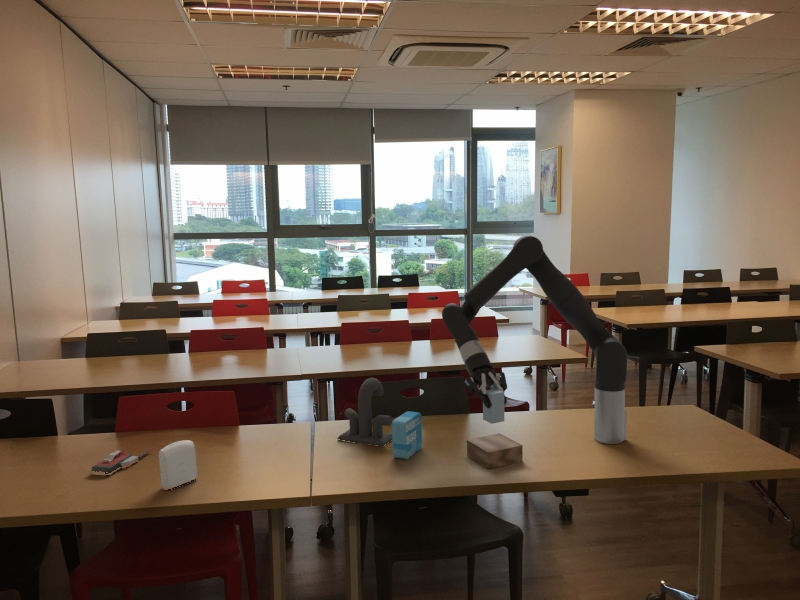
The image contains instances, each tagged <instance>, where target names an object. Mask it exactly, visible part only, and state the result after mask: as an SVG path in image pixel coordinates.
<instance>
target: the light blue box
mask: <svg viewBox="0 0 800 600" xmlns="http://www.w3.org/2000/svg"><path fill="white" fill-rule="evenodd" d="M422 424H423V423H422V414H421V412H417V411H405V412H404V413H403V414H401V415H399V416H397V417H396V418H394V419H393V420H392V423H391V434H392V441H391V442H392V456H393V458H397V459H403V460H408V459H409V457H410V456H411V457H412V456H413V455H415V454H416V453H417V452H418V451H419V449H420V448H421V449H422V447H423V436H422V435H423V434H422V433H423V431H422V430H423V429H422ZM421 449H420V450H421ZM416 451H417V452H416ZM415 452H416V453H415ZM414 453H415V454H414ZM411 457H410V458H411Z"/></svg>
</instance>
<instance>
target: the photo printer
mask: <svg viewBox="0 0 800 600" xmlns="http://www.w3.org/2000/svg"><path fill="white" fill-rule="evenodd" d="M195 447H196V446H195V444H194V442H193V441H192V440H187V439H185V440H178V441H175V442H172V443H169V444H168V445H166V446H164V447H163V448H161V449H160V450H159V451H158V462H159V463H158V464H159V473H160V482H161V483H160V484H161V488H162V487H164V488H171V487H174V486H177V485H180V484H183V483H185V482H187V481H190V480H193V479H195V478H197V479H198V469H197V468H198V467H197V457H196V448H195Z"/></svg>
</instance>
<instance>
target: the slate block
mask: <svg viewBox="0 0 800 600" xmlns="http://www.w3.org/2000/svg"><path fill="white" fill-rule="evenodd" d="M486 394H487V395H488V397H489V399H490V401H491V403H492V406H491V407H490V408H487V407H486V406H485V405H484V403H483V402H482V420H483V421H486V422H487V423H489V424H491V425H492V424H498V423H503V422H505V405H504V395H505V392H503V391H500V390H498V389H491V388H490V389H486Z"/></svg>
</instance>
